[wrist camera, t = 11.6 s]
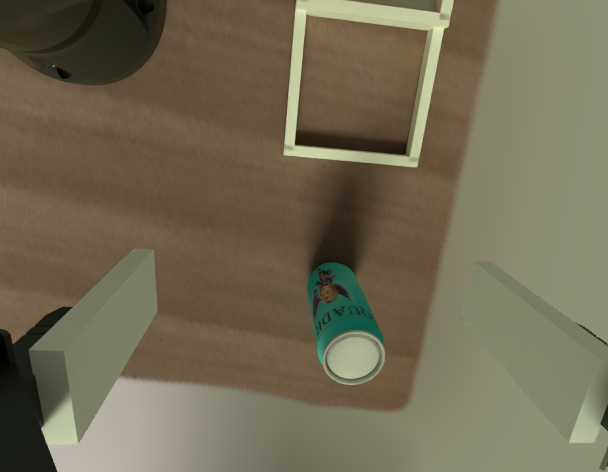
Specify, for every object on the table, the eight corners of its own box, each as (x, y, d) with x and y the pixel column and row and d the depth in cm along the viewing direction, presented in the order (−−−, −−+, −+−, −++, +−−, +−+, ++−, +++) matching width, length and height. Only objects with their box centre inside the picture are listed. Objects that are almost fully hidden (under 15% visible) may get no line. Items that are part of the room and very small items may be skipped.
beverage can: (334, 247, 44) (362, 315, 30) (363, 282, 46) (402, 361, 31) (296, 277, 45) (304, 356, 31) (325, 309, 46) (346, 399, 32)
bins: (310, -178, 31) (313, -201, 29) (471, -150, 33) (486, -170, 30) (283, 153, 40) (283, 156, 38) (412, 165, 41) (420, 168, 39)
